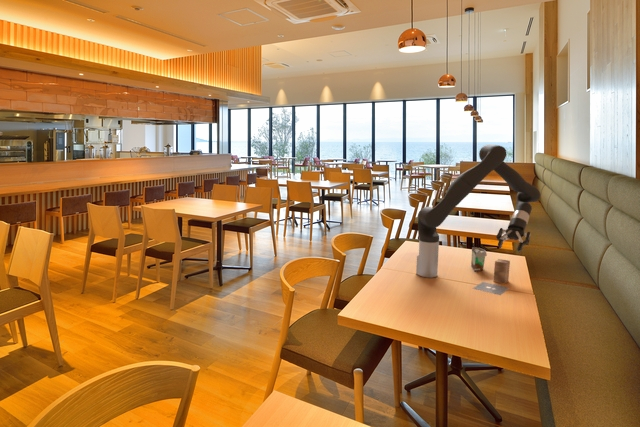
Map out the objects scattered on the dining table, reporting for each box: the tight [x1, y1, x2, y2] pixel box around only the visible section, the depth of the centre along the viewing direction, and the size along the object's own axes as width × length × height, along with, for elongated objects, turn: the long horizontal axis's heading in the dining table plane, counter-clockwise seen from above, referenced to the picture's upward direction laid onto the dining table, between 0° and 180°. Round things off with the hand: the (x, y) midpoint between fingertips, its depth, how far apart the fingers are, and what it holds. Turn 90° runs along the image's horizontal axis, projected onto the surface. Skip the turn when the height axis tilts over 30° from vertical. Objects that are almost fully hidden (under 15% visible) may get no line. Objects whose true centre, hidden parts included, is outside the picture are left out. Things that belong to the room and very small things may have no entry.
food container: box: [470, 246, 488, 273], centre depth 208 cm, size 12×6×10 cm, turn 168°
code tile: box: [472, 281, 510, 296], centre depth 181 cm, size 12×12×1 cm
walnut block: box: [493, 258, 511, 285], centre depth 189 cm, size 5×5×10 cm
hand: (508, 249), depth 193 cm, fingers open, 8 cm apart
